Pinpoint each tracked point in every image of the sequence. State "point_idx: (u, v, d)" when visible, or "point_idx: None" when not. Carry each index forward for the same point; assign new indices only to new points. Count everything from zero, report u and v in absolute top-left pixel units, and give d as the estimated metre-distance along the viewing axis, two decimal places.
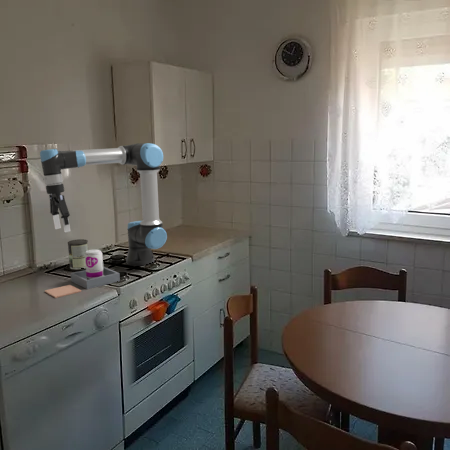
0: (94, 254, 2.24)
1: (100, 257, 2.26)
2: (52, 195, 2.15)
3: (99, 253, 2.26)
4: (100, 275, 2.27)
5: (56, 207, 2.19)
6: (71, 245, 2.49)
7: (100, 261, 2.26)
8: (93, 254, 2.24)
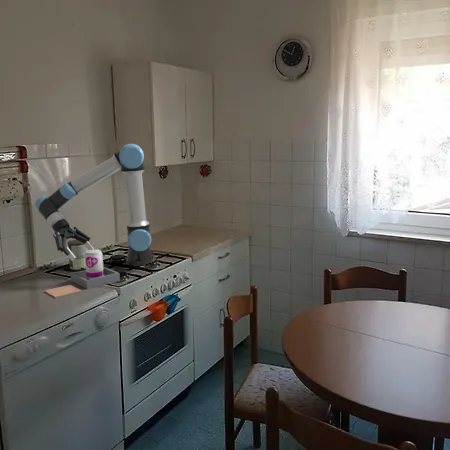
0: (94, 254, 2.24)
1: (100, 257, 2.26)
2: None
3: (99, 253, 2.26)
4: (100, 275, 2.27)
5: (78, 237, 2.35)
6: (71, 245, 2.49)
7: (100, 261, 2.26)
8: (93, 254, 2.24)
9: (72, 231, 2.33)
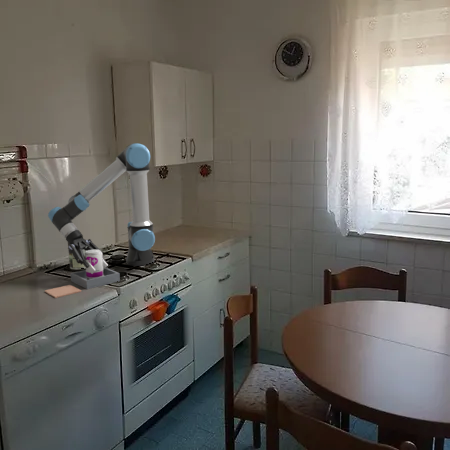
0: (94, 254, 2.24)
1: (100, 257, 2.26)
2: None
3: (99, 253, 2.26)
4: (100, 275, 2.27)
5: None
6: None
7: (100, 261, 2.26)
8: (93, 254, 2.24)
9: (85, 243, 2.31)
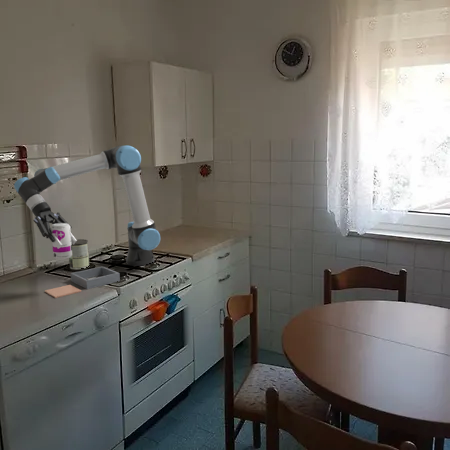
0: (61, 227, 2.09)
1: (68, 231, 2.11)
2: None
3: (67, 226, 2.10)
4: (67, 250, 2.12)
5: None
6: None
7: (68, 235, 2.11)
8: (60, 227, 2.09)
9: (53, 216, 2.16)
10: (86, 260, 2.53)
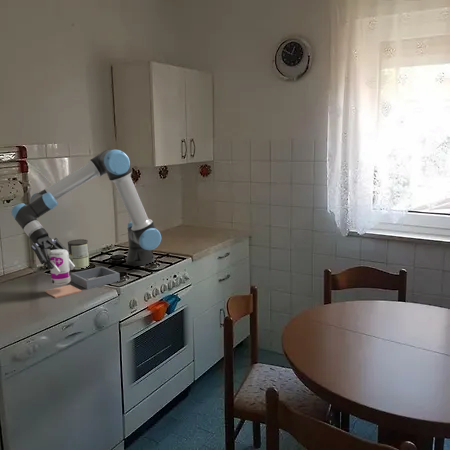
0: (59, 254, 2.08)
1: (66, 257, 2.10)
2: None
3: (65, 253, 2.10)
4: (66, 276, 2.11)
5: None
6: (71, 245, 2.49)
7: (66, 261, 2.11)
8: (58, 254, 2.08)
9: (51, 242, 2.15)
10: (86, 260, 2.53)
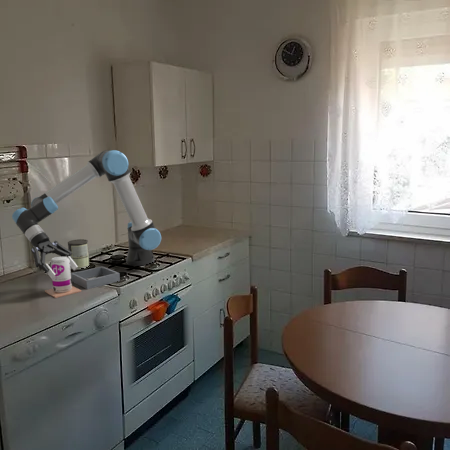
0: (60, 261, 2.09)
1: (67, 265, 2.11)
2: None
3: (66, 260, 2.11)
4: (67, 284, 2.12)
5: (59, 252, 2.18)
6: (71, 245, 2.49)
7: (68, 269, 2.12)
8: (59, 262, 2.09)
9: (52, 245, 2.16)
10: (86, 260, 2.53)
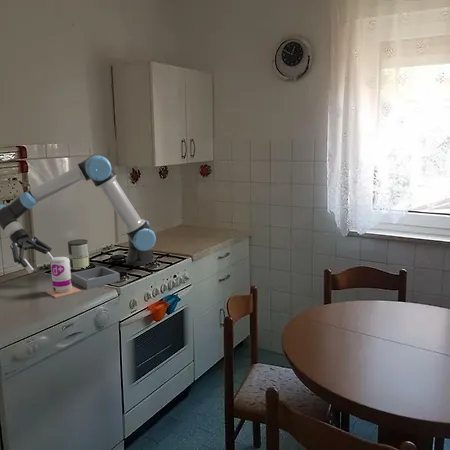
0: (60, 262, 2.09)
1: (67, 265, 2.11)
2: None
3: (66, 261, 2.11)
4: (67, 284, 2.12)
5: (38, 248, 2.24)
6: (71, 245, 2.49)
7: (68, 269, 2.12)
8: (59, 262, 2.09)
9: (31, 241, 2.22)
10: (86, 260, 2.53)
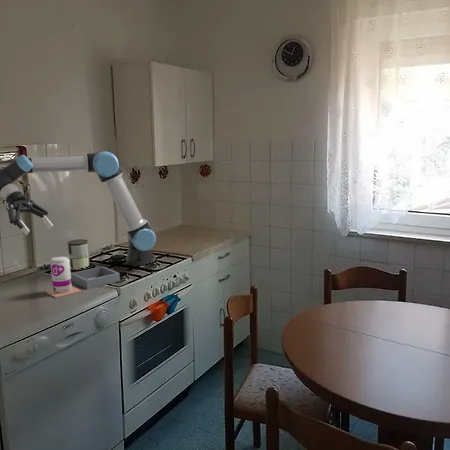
0: (60, 262, 2.09)
1: (67, 265, 2.11)
2: None
3: (66, 261, 2.11)
4: (67, 284, 2.12)
5: (34, 211, 2.20)
6: (71, 245, 2.49)
7: (68, 269, 2.12)
8: (59, 262, 2.09)
9: (28, 204, 2.19)
10: (86, 260, 2.53)
